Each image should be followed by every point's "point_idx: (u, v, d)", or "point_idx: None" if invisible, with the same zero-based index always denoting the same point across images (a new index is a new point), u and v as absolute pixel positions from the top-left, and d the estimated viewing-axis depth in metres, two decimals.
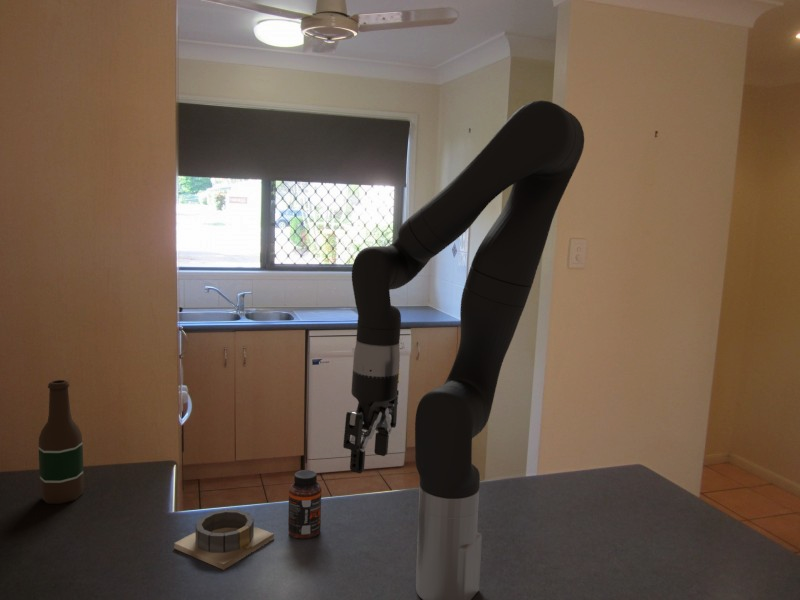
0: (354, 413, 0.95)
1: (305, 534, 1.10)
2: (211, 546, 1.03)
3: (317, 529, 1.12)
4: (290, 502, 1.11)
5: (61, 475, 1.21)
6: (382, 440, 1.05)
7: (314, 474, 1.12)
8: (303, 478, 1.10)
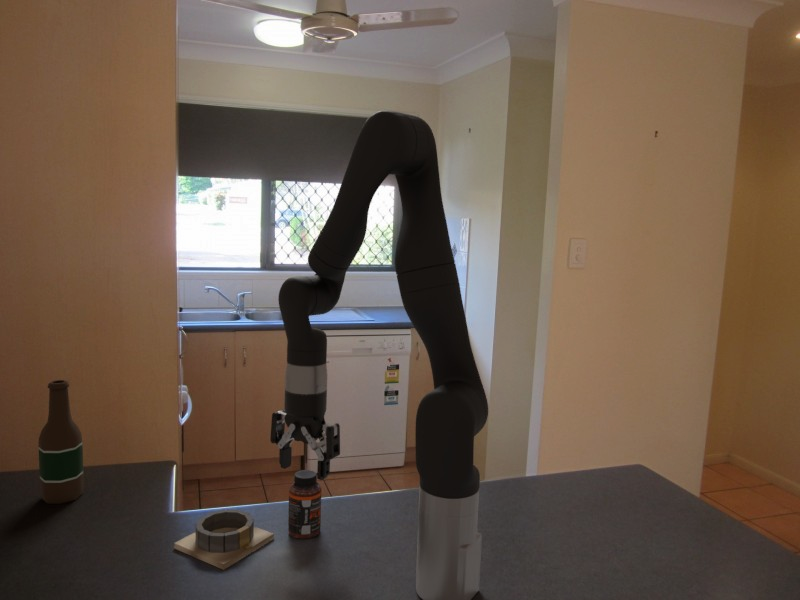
0: (334, 425, 1.07)
1: (305, 534, 1.10)
2: (211, 546, 1.03)
3: (317, 529, 1.12)
4: (290, 502, 1.11)
5: (61, 475, 1.21)
6: (288, 453, 1.14)
7: (314, 474, 1.12)
8: (303, 478, 1.10)
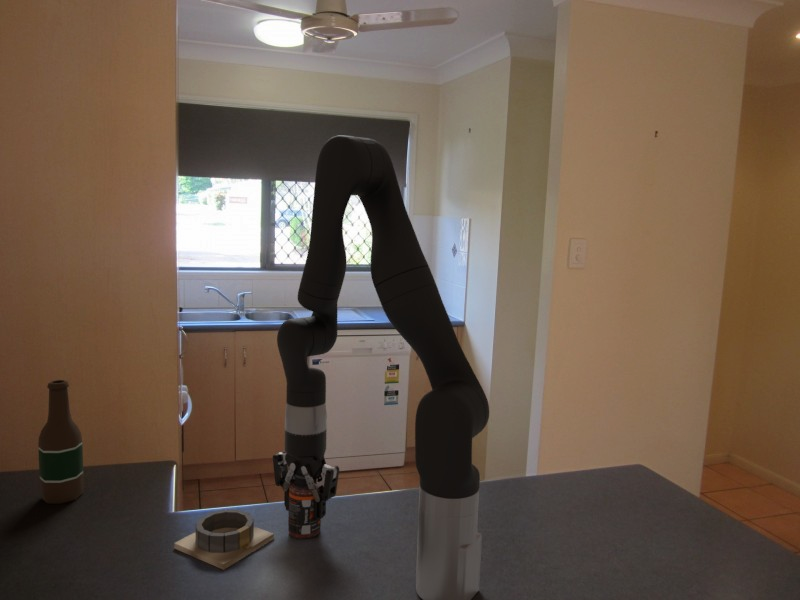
0: (334, 468, 1.08)
1: (305, 534, 1.10)
2: (211, 546, 1.03)
3: (317, 529, 1.12)
4: (290, 502, 1.11)
5: (61, 475, 1.21)
6: None
7: None
8: (303, 478, 1.10)
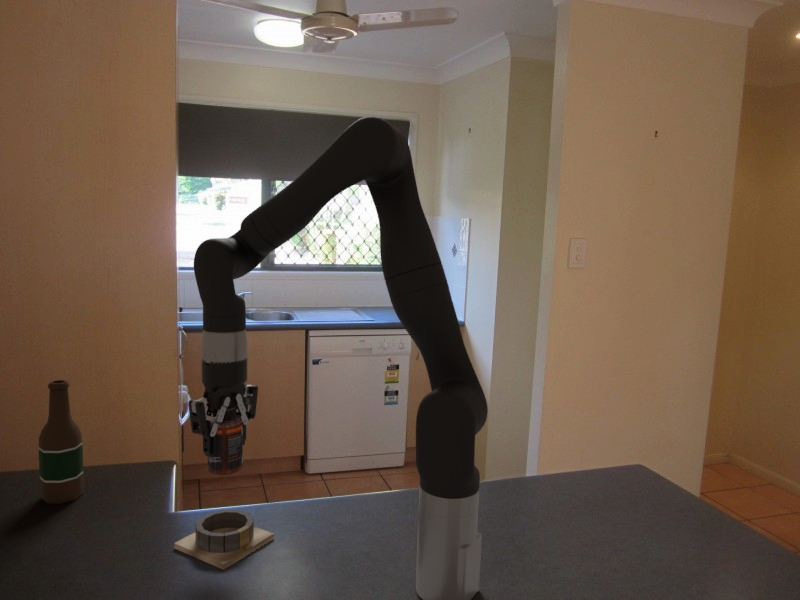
0: (251, 385, 1.11)
1: (242, 462, 1.07)
2: (211, 546, 1.03)
3: None
4: (231, 438, 1.04)
5: (61, 475, 1.21)
6: None
7: None
8: (235, 407, 1.05)
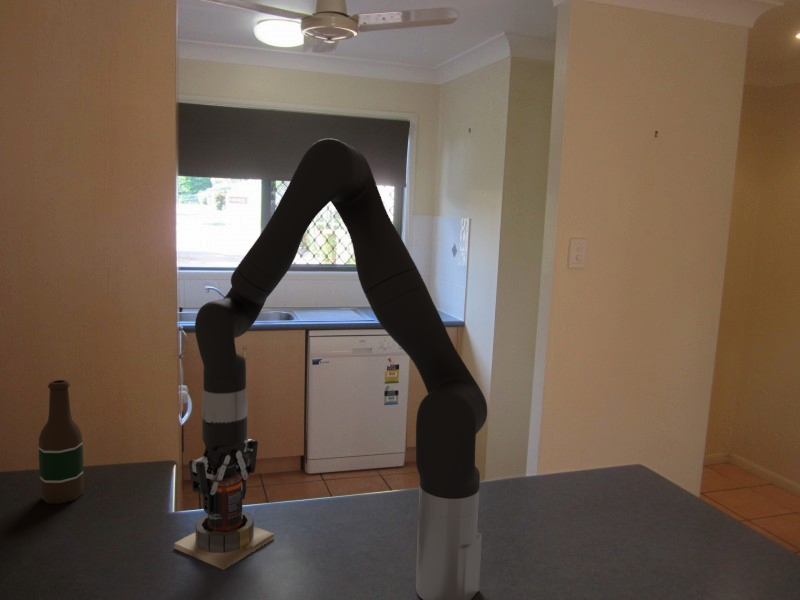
0: (251, 439, 1.12)
1: (242, 517, 1.09)
2: (211, 546, 1.03)
3: None
4: (231, 496, 1.05)
5: (61, 475, 1.21)
6: None
7: None
8: (235, 464, 1.07)
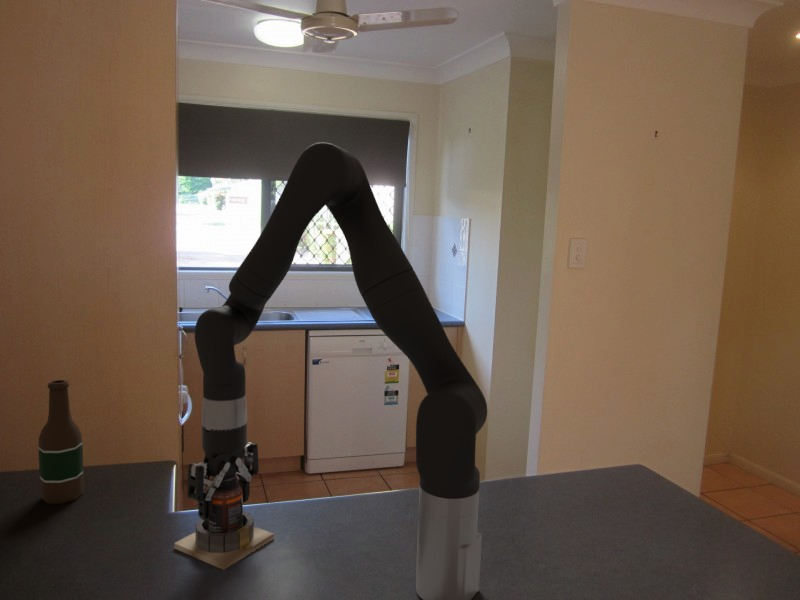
0: None
1: None
2: (211, 546, 1.03)
3: None
4: (231, 508, 1.05)
5: (61, 475, 1.21)
6: None
7: None
8: (235, 477, 1.07)
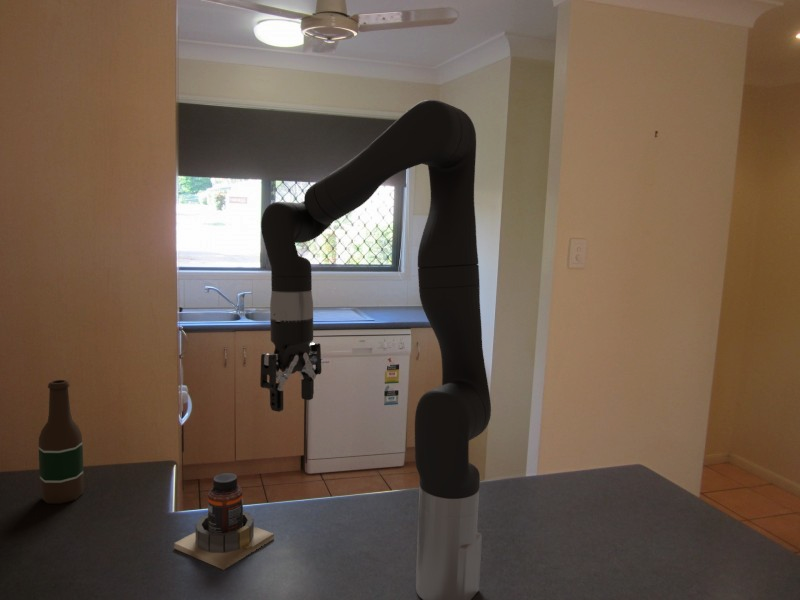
0: None
1: None
2: (211, 546, 1.03)
3: None
4: (231, 509, 1.05)
5: (61, 475, 1.21)
6: None
7: (229, 473, 1.08)
8: (236, 478, 1.07)
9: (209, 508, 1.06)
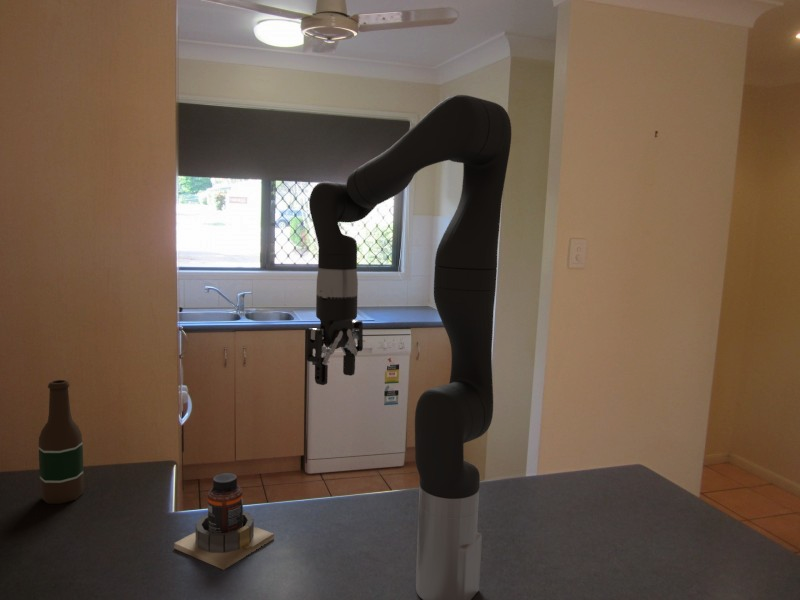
0: (356, 320, 1.18)
1: None
2: (211, 546, 1.03)
3: None
4: (231, 510, 1.05)
5: (61, 475, 1.21)
6: None
7: (229, 473, 1.08)
8: (235, 478, 1.07)
9: (209, 508, 1.06)
